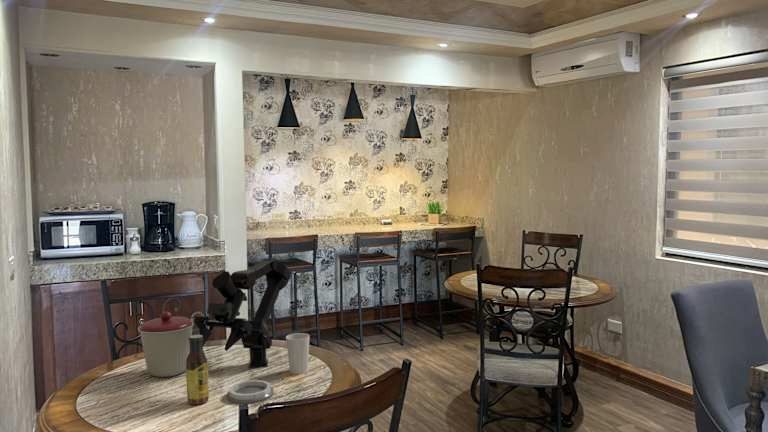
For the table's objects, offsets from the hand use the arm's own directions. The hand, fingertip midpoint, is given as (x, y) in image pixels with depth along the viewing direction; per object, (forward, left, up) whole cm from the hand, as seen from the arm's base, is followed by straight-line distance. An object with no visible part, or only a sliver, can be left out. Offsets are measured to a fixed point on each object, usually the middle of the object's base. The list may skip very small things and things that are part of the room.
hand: (212, 348), depth 184 cm
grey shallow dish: (+5, +11, -14) cm, 18 cm away
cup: (-13, +26, -14) cm, 32 cm away
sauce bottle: (+7, -4, -14) cm, 16 cm away
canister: (-22, -18, -14) cm, 31 cm away
